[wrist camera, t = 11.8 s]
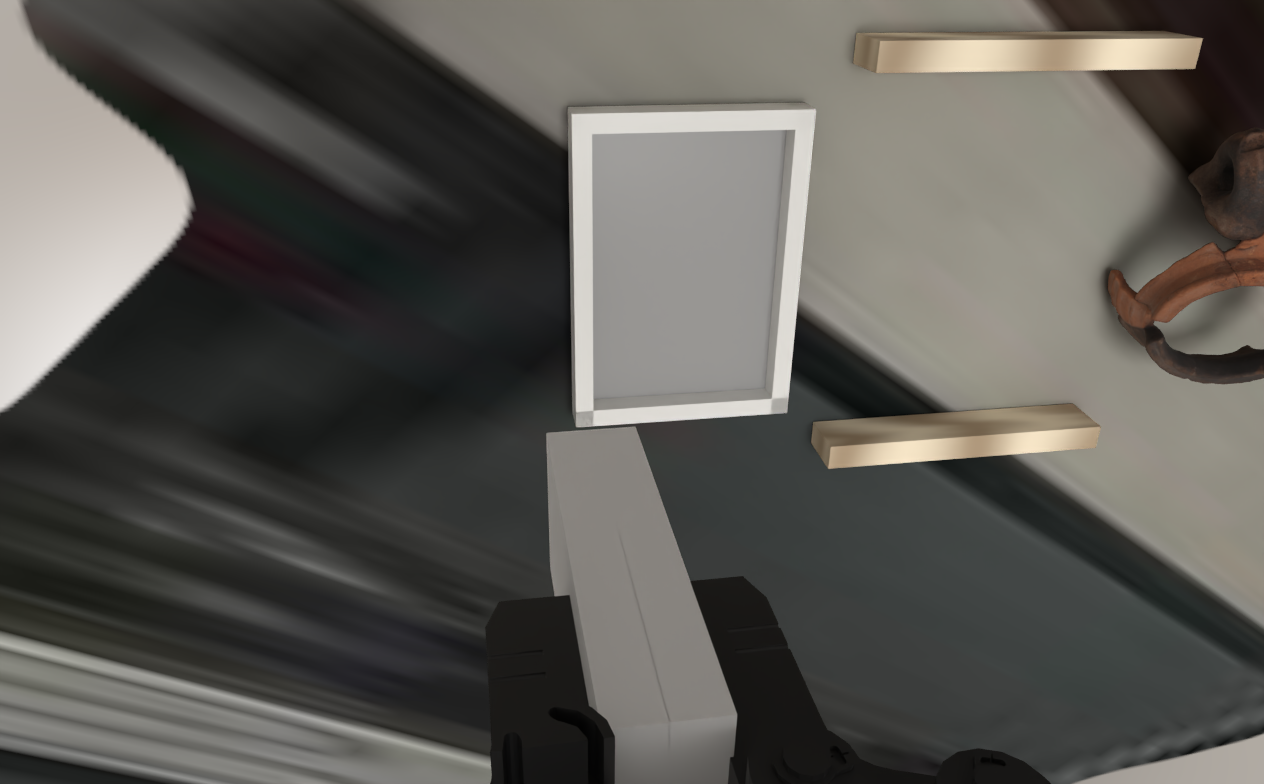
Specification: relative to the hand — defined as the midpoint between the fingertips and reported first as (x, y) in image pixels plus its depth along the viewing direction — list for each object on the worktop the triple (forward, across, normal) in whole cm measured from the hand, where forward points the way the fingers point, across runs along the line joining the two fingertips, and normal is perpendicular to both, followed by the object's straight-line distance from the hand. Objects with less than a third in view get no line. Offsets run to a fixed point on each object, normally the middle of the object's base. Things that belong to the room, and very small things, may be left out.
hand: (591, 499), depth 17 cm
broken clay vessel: (+27, +33, -5) cm, 42 cm away
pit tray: (+26, +8, -5) cm, 28 cm away
